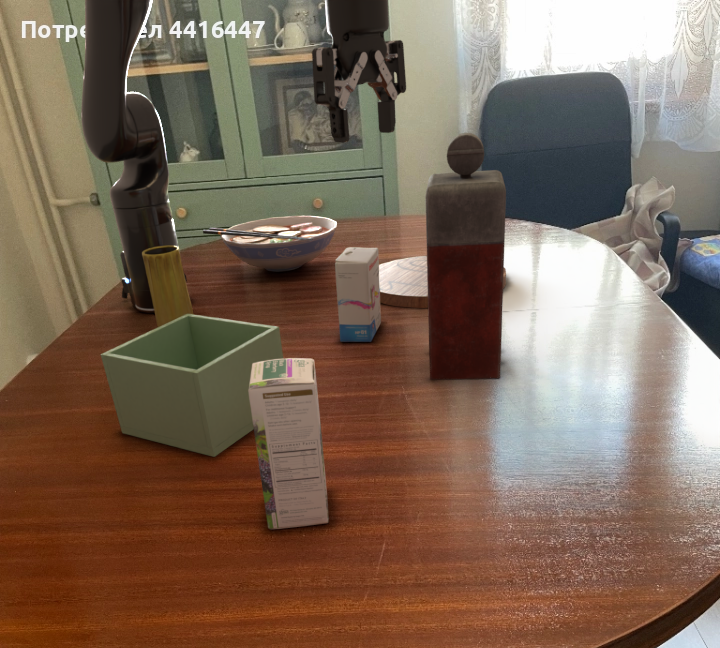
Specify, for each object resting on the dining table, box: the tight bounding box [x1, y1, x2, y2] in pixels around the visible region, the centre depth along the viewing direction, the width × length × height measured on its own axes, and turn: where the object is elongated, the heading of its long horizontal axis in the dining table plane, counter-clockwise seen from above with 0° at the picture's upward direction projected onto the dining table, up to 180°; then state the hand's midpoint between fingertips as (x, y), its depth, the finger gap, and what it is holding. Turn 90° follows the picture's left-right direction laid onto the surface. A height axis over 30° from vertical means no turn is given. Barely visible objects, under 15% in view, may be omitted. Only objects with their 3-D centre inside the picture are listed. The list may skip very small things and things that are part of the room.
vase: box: [142, 245, 195, 328], centre depth 107 cm, size 6×6×14 cm
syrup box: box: [248, 357, 330, 530], centre depth 66 cm, size 6×6×14 cm
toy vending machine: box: [425, 132, 507, 381], centre depth 90 cm, size 9×11×28 cm
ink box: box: [334, 246, 382, 343], centre depth 107 cm, size 8×5×12 cm, turn 168°
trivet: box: [379, 254, 507, 309], centre depth 127 cm, size 25×25×2 cm
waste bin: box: [100, 313, 284, 458], centre depth 86 cm, size 14×14×10 cm
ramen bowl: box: [202, 215, 338, 273], centre depth 143 cm, size 25×23×8 cm
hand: (364, 137), depth 94 cm, fingers open, 8 cm apart
